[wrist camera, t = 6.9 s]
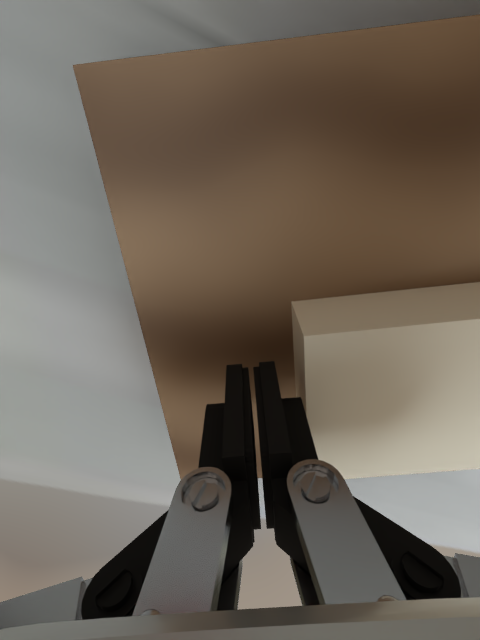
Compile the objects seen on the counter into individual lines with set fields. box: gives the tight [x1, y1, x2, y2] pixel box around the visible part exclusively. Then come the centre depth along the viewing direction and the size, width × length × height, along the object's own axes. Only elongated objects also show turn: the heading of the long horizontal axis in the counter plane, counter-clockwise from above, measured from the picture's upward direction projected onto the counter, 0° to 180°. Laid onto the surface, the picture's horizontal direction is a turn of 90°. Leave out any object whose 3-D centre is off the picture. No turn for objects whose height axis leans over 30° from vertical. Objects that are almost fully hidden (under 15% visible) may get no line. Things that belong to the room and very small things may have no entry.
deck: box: [73, 15, 480, 480], centre depth 13 cm, size 16×14×2 cm
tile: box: [291, 282, 480, 479], centre depth 11 cm, size 6×12×2 cm, turn 97°
